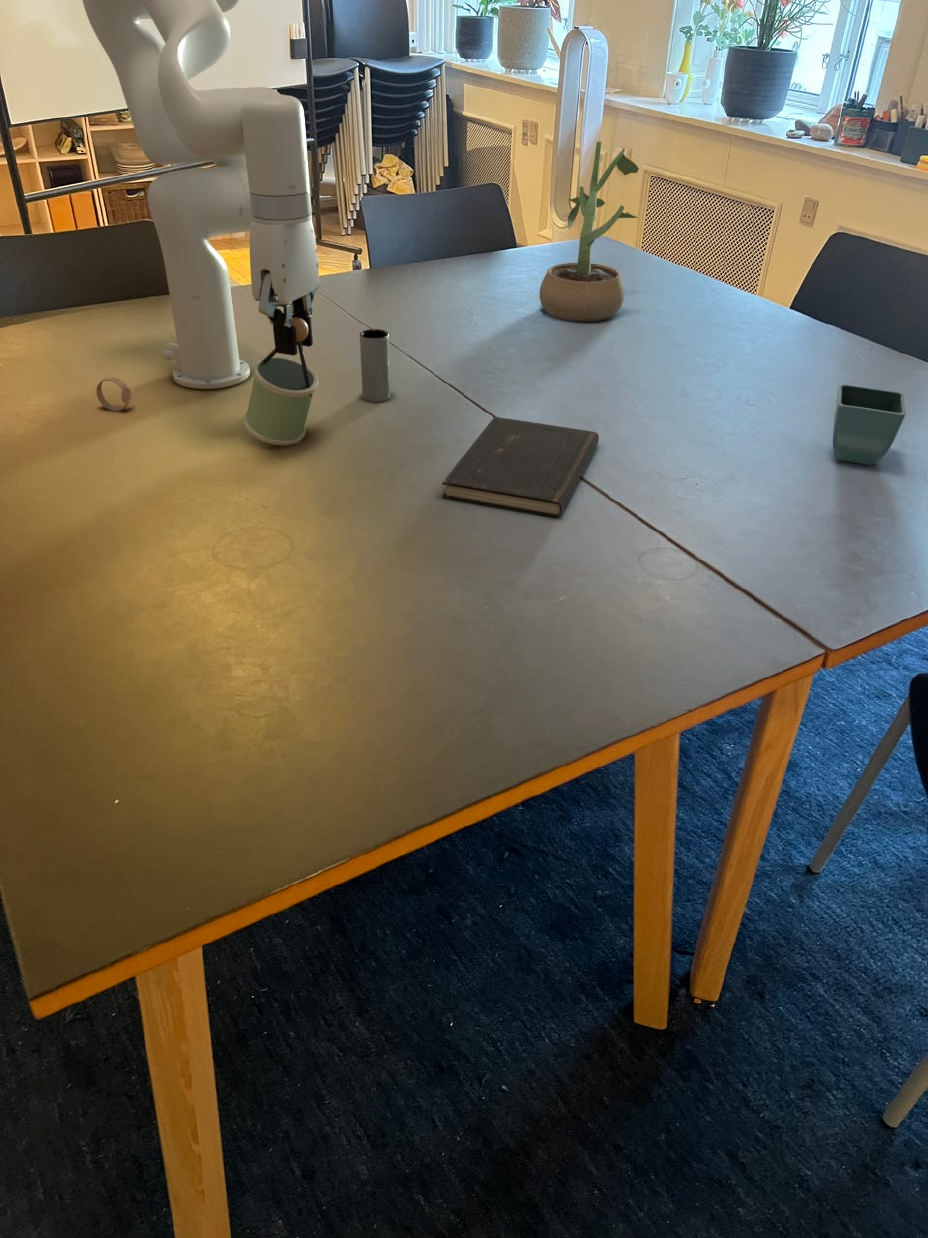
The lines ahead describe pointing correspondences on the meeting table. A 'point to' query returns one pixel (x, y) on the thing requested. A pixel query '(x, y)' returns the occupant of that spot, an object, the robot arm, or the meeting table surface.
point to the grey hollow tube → (375, 365)
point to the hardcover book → (522, 466)
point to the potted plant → (587, 260)
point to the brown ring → (124, 394)
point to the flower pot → (866, 423)
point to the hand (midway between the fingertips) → (294, 347)
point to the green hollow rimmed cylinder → (281, 395)
